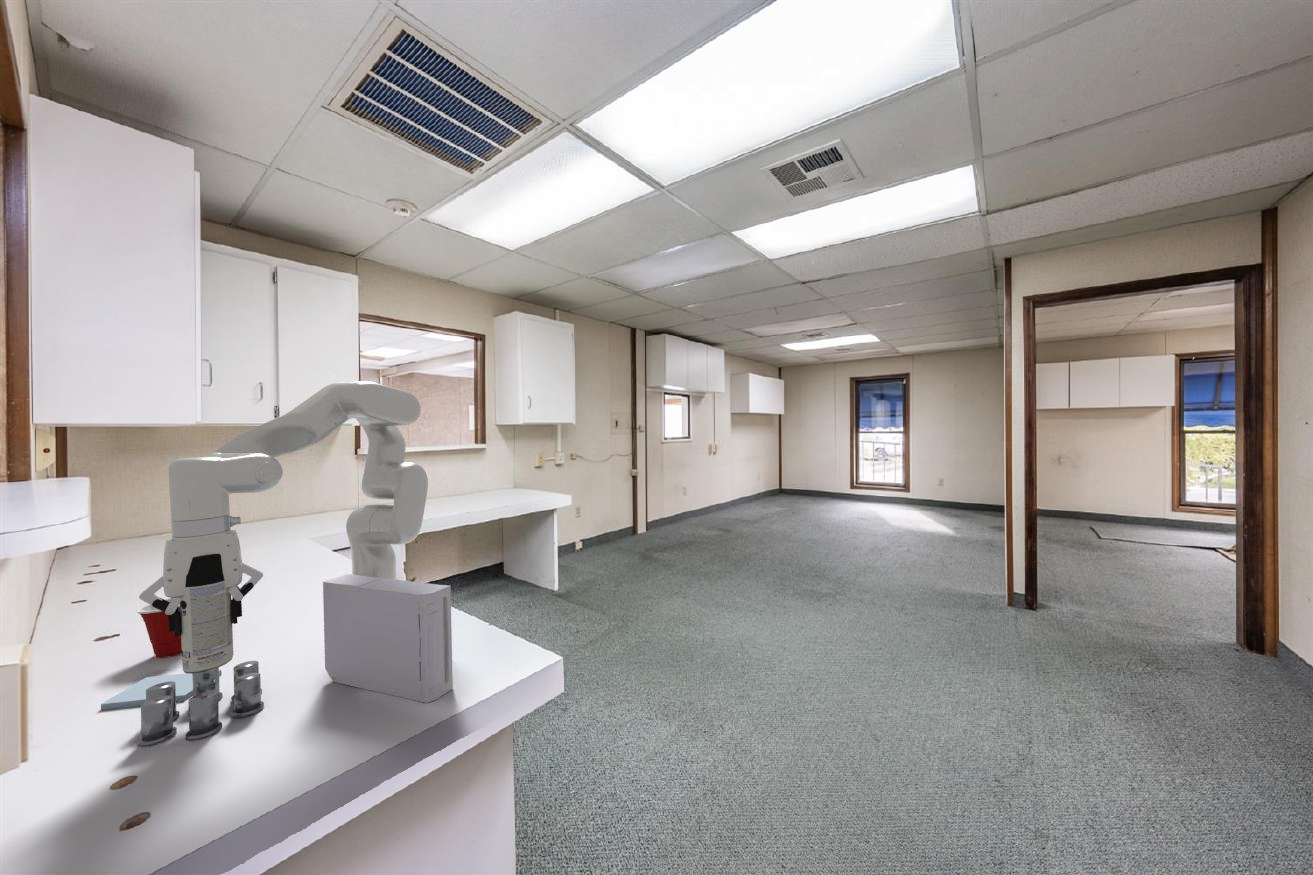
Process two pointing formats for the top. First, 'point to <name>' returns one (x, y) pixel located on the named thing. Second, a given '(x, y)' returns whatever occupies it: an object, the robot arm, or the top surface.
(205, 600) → the spray can
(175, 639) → the plastic cup
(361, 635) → the game console
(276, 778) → the top surface
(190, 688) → the pad
